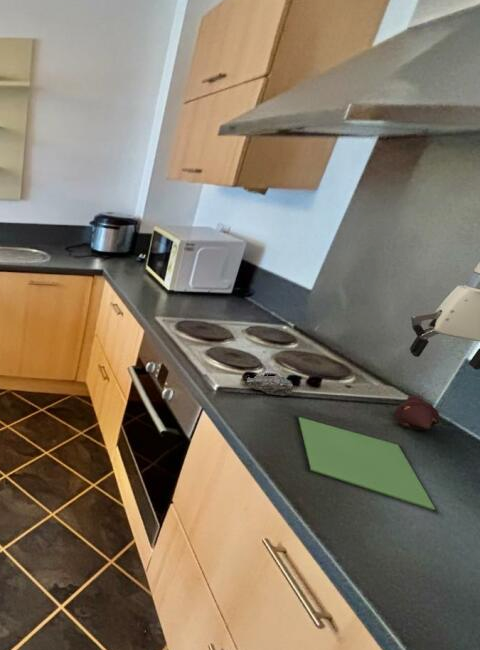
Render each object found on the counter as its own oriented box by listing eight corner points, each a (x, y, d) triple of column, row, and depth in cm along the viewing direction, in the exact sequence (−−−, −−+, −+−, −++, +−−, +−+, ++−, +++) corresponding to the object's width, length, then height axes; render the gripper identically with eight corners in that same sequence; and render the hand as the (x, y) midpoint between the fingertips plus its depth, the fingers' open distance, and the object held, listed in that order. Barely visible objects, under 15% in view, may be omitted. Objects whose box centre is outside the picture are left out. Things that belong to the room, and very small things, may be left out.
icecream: (462, 425, 87) (435, 400, 99) (422, 406, 90) (400, 384, 102) (434, 449, 91) (410, 422, 103) (395, 429, 93) (377, 406, 105)
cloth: (397, 446, 90) (398, 444, 90) (434, 510, 73) (435, 509, 73) (298, 418, 98) (299, 416, 98) (310, 470, 81) (311, 469, 80)
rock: (240, 377, 115) (246, 364, 113) (283, 386, 112) (289, 373, 110) (244, 389, 109) (250, 375, 107) (289, 400, 105) (296, 385, 103)
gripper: (546, 289, 82) (489, 365, 90) (430, 273, 89) (387, 344, 97) (569, 298, 76) (507, 379, 84) (443, 280, 84) (397, 355, 92)
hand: (443, 360), depth 91 cm, fingers open, 9 cm apart
